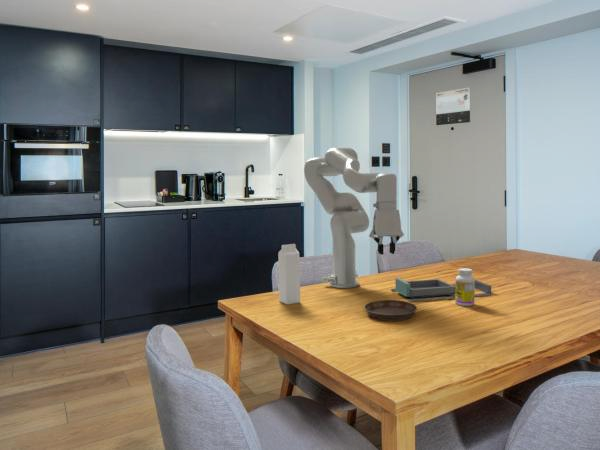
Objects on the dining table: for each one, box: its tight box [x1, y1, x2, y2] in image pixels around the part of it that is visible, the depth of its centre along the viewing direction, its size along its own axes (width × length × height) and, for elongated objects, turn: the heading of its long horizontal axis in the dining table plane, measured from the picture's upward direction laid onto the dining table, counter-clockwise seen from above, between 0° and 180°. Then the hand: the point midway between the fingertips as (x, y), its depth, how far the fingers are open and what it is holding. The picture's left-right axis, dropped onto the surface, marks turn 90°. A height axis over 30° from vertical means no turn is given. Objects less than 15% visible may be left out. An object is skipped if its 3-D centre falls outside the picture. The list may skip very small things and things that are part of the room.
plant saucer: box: [363, 299, 418, 322], centre depth 172 cm, size 18×18×3 cm
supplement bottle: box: [454, 267, 476, 307], centre depth 183 cm, size 7×7×13 cm
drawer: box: [395, 277, 455, 299], centre depth 198 cm, size 20×14×6 cm
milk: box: [277, 243, 301, 305], centre depth 190 cm, size 6×6×22 cm
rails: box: [390, 279, 492, 303], centre depth 200 cm, size 36×18×3 cm, turn 102°
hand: (386, 253), depth 193 cm, fingers open, 3 cm apart
